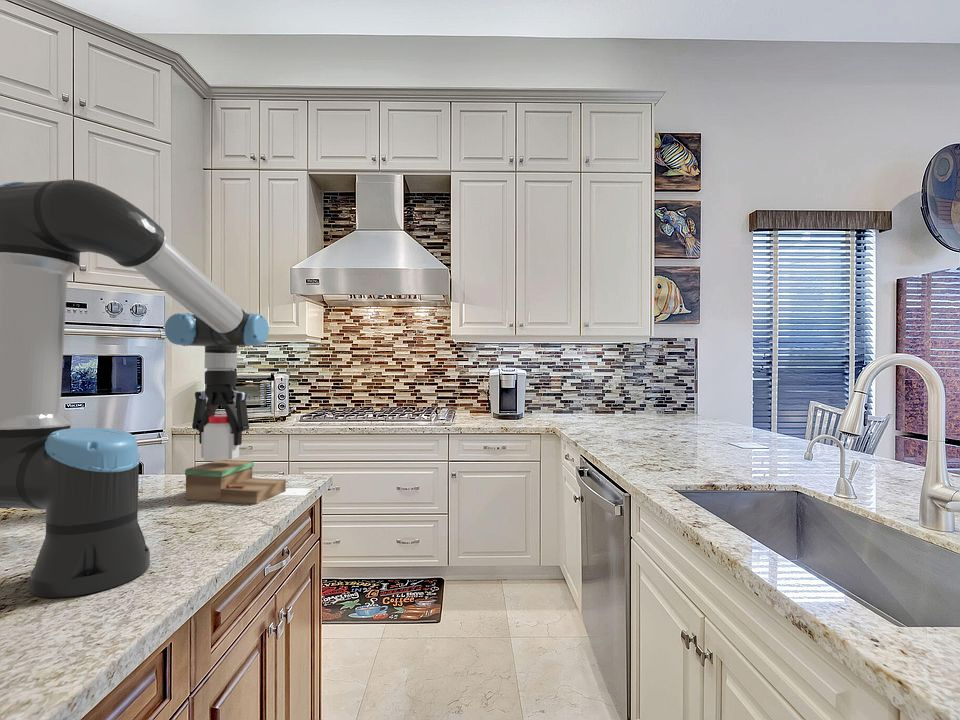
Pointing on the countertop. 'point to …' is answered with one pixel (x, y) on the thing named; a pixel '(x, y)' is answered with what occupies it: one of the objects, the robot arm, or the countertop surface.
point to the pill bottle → (217, 438)
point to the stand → (230, 483)
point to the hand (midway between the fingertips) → (220, 457)
